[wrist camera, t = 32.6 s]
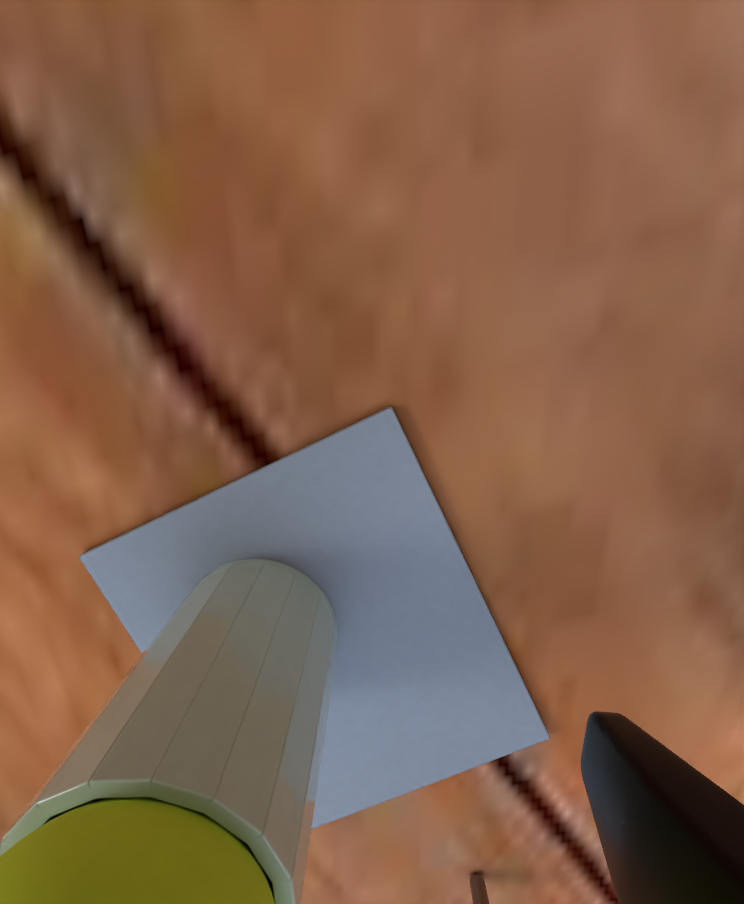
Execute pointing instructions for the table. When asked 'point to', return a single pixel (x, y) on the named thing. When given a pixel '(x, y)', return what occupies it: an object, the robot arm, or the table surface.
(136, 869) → the ball
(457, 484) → the table surface
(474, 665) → the mat
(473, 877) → the juicer
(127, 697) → the cup
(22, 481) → the table surface
